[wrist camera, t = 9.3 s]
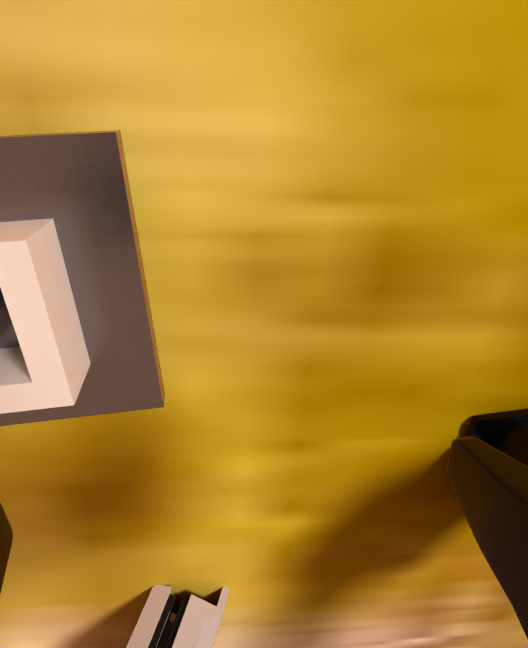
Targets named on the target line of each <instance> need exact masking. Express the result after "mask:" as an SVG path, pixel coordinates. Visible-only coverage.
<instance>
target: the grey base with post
mask: <svg viewBox="0 0 528 648" xmlns="http://www.w3.org/2000/svg"><path fill="white" fill-rule="evenodd" d="M51 218H53V220H54V224H55V228H56V232H57V235H58V239H59V243H60V247H61V251H62V255H63V259H64V263H65V267H66V270H67V274H68V278H69V282H70V286H71V290H72V294H73V298H74V301H75V305H76V309H77V313H78V317H79V321H80V325H81V329H82V333H83V336H84V340H85V344H86V348H87V352H88V356H89V360H90V367H89V369H88V372H87V374H86V377H85V379H84V382H83V384H82V387H81V389H80V392H79V394H78V397H77V399H76V402H75V404H74V405H72V406H63V407H54V408H46V409H37V410H29V411H20V412H11V413H3V414H0V426H5V425H13V424H22V423H31V422H39V421H48V420H56V419H65V418H74V417H82V416H91V415H99V414H108V413H117V412H125V411H134V410H142V409H151V408H160V407H164V398H165V393H164V387H163V381H162V375H161V369H160V363H159V358H158V352H157V346H156V340H155V334H154V328H153V322H152V316H151V310H150V305H149V299H148V293H147V287H146V281H145V275H144V269H143V263H142V257H141V252H140V246H139V240H138V234H137V228H136V222H135V216H134V210H133V204H132V199H131V193H130V187H129V181H128V175H127V169H126V163H125V157H124V151H123V146H122V140H121V134H120V131H99V132H78V133H57V134H36V135H15V136H0V222H9V221H23V220H37V219H51ZM10 347H20V344H19V341H18V338H17V335H16V332H15V329H14V326H13V323H12V321H11V318H10V315H9V312H8V309H7V306H6V303H5V300H4V297H3V294H2V291H1V288H0V348H10Z"/></svg>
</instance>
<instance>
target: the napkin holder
mask: <svg viewBox="0 0 528 648" xmlns="http://www.w3.org/2000/svg"><path fill="white" fill-rule="evenodd" d="M171 589H172V587H170V586H165V585H156V586H153V588H152V590H151V592H150V594H149V597H148V599H147V601H146V603H145V606H144V608H143V610H142V613H141V615H140V617H139V619H138V622H137V624H136V626H135V628H134V631H133V633H132V635H131V638H130V640H129V642H128V644H127V647H126V648H213V644H214V641H215V638H216V634H217V631H218V628H219V624H220V621H221V618H222V614H223V611H224V608H225V604H226V601H227V597H228V594H229V590H230V588H228V587H222V591H221V594H220V597H219V600H218V603H217V606H214V605H212V604H210V603H208V602H206V601H204V600H202V599H200V598H198V597H196V596H194V595H192V594H191V596H190V599H189V601H188V600H185V599H182V602H181V604H180V607H179V610H178V612H177V615H176V614H175V613H174V612H173V607H174V603H175V598H176V596H174V595H171Z"/></svg>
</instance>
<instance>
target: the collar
mask: <svg viewBox="0 0 528 648" xmlns="http://www.w3.org/2000/svg"><path fill="white" fill-rule="evenodd" d="M0 288H1V291H2V294H3V297H4V300H5V303H6V306H7V309H8V312H9V315H10V318H11V321H12V323H13V326H14V329H15V332H16V335H17V338H18V341H19V344H20V347H10V348H0V414H3V413H11V412H20V411H29V410H37V409H46V408H54V407H63V406H72V405H74V404H75V402H76V399H77V397H78V394H79V392H80V389H81V387H82V384H83V382H84V379H85V377H86V374H87V372H88V369H89V367H90V360H89V356H88V352H87V348H86V344H85V340H84V336H83V333H82V329H81V325H80V321H79V317H78V313H77V309H76V305H75V301H74V298H73V294H72V290H71V286H70V282H69V278H68V274H67V270H66V267H65V263H64V259H63V255H62V251H61V247H60V243H59V239H58V235H57V232H56V228H55V224H54V220H53V218H51V219H37V220H23V221H9V222H0Z"/></svg>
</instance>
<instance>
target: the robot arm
mask: <svg viewBox="0 0 528 648" xmlns="http://www.w3.org/2000/svg"><path fill="white" fill-rule="evenodd" d="M447 475H448V479H449V481H450V483H451V486H452V488H453V490H454V493H455V496H456V497H457V499H458V501H459V504H460V506H461V508H462V510H463V512H464V515H465V517H466V519H467V521H468V524H469V526H470V528H471V530H472V532H473V535H474V537H475V539H476V541H477V543H478V545H479V547H480V549H481V551H482V553H483V555H484V557H485V558H486V560H487V562H488V564H489V566H490V567H491V569H492V571H493V573H494V574H495V576H496V578H497V580H498V581H499V583H500V585H501V587H502V588H503V590H504V592H505V594H506V595H507V597H508V599H509V601H510V602H511V604H512V606H513V608H514V610H515V612H516V614H517V617H518V619H519V621H520V623H521V625H522V627H523V630H524V632H525V634H526V636H527V638H528V410H520V411H513V412H505V413H497V414H489V415H482V416H477V417H475V418H473V419H472V420H471V422H470V424H469V428H468V433H467V437H464V438H457V439H454V440H453V442H452V444H451V449H450V454H449V459H448V464H447ZM12 539H13V533H12V528H11V526H10V523H9V521H8V519H7V516H6V514H5V512H4V510H3V507H2V505H1V503H0V593H1V589H2V584H3V580H4V576H5V571H6V567H7V563H8V558H9V554H10V549H11V545H12Z"/></svg>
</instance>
